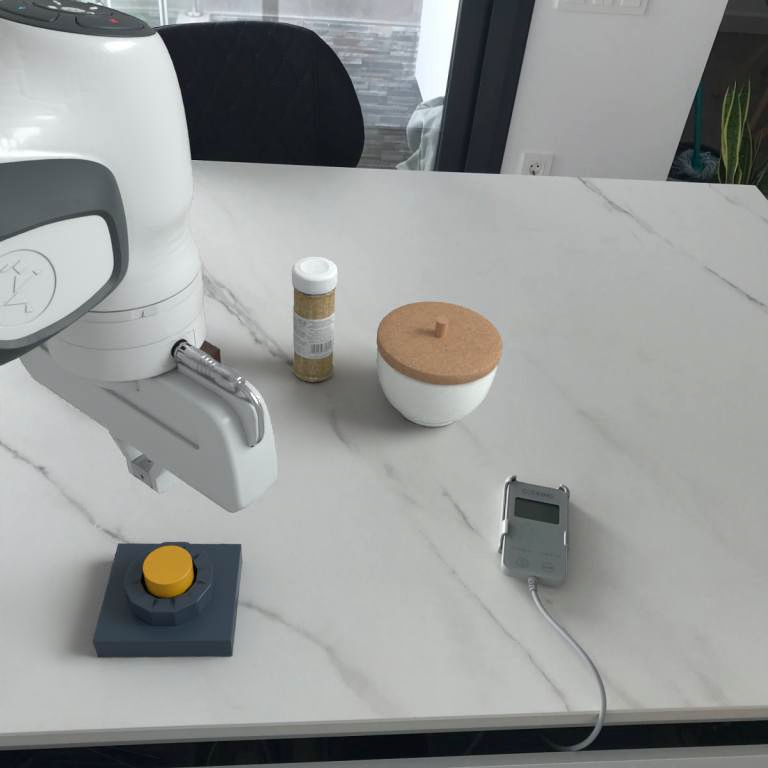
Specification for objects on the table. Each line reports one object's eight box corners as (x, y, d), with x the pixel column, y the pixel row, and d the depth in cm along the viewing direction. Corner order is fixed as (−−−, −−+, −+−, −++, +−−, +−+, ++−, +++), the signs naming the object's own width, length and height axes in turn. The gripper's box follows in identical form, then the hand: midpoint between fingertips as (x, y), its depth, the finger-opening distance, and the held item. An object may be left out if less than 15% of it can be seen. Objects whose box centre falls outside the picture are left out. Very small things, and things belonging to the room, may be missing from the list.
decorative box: (503, 440, 80) (524, 355, 73) (384, 450, 77) (393, 363, 70) (469, 364, 89) (484, 282, 82) (361, 371, 86) (367, 287, 79)
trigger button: (141, 598, 58) (138, 584, 57) (150, 559, 61) (147, 545, 60) (190, 598, 58) (188, 584, 57) (196, 559, 61) (194, 545, 60)
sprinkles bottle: (330, 357, 88) (334, 253, 79) (336, 382, 85) (341, 277, 76) (289, 359, 87) (289, 255, 79) (294, 385, 84) (294, 279, 75)
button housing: (97, 657, 58) (88, 627, 55) (121, 559, 65) (114, 528, 62) (232, 656, 59) (229, 626, 56) (242, 559, 66) (240, 529, 63)
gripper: (301, 360, 41) (301, 527, 50) (60, 229, 50) (96, 392, 59) (215, 421, 37) (231, 591, 46) (-32, 267, 46) (22, 436, 55)
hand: (154, 478), depth 53 cm, fingers closed
